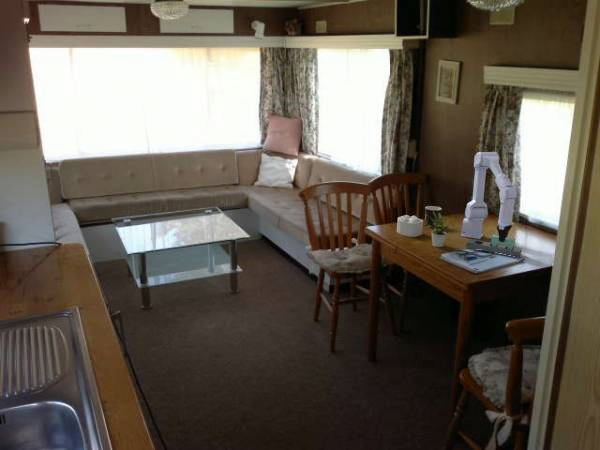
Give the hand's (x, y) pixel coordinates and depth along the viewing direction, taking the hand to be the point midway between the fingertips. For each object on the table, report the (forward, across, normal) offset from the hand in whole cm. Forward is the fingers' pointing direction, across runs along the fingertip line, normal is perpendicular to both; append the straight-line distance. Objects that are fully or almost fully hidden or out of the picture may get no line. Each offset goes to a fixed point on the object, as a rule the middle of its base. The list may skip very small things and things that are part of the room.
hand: (502, 240), depth 255 cm
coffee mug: (+6, +23, +41) cm, 48 cm away
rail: (+6, 0, +4) cm, 7 cm away
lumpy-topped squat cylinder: (+6, +5, +48) cm, 48 cm away
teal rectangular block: (+4, 0, 0) cm, 4 cm away
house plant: (+6, -6, +30) cm, 31 cm away
